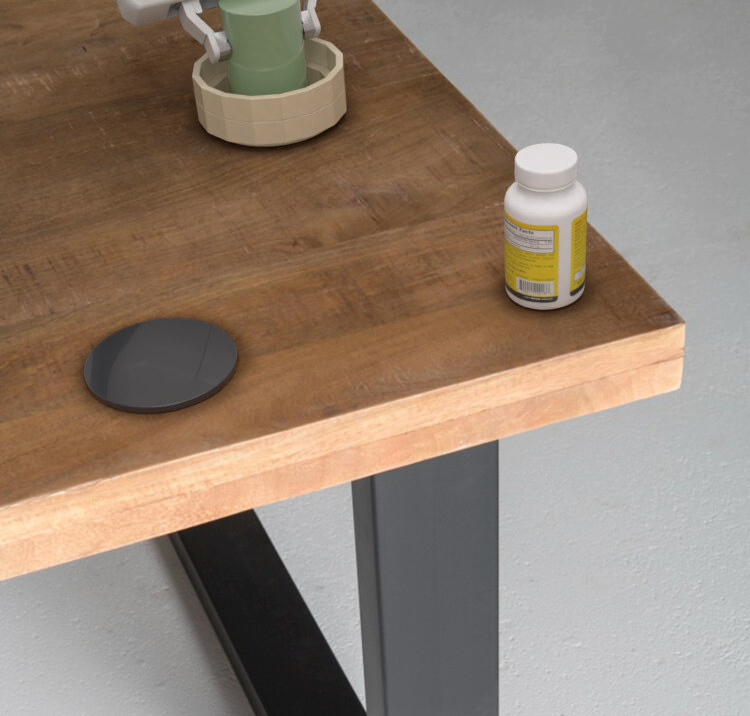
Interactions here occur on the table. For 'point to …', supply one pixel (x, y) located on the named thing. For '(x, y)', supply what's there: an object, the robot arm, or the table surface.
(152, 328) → the slate coaster
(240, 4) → the sage green cylinder
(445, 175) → the table surface
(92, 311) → the table surface
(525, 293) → the supplement bottle
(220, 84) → the cream bowl
